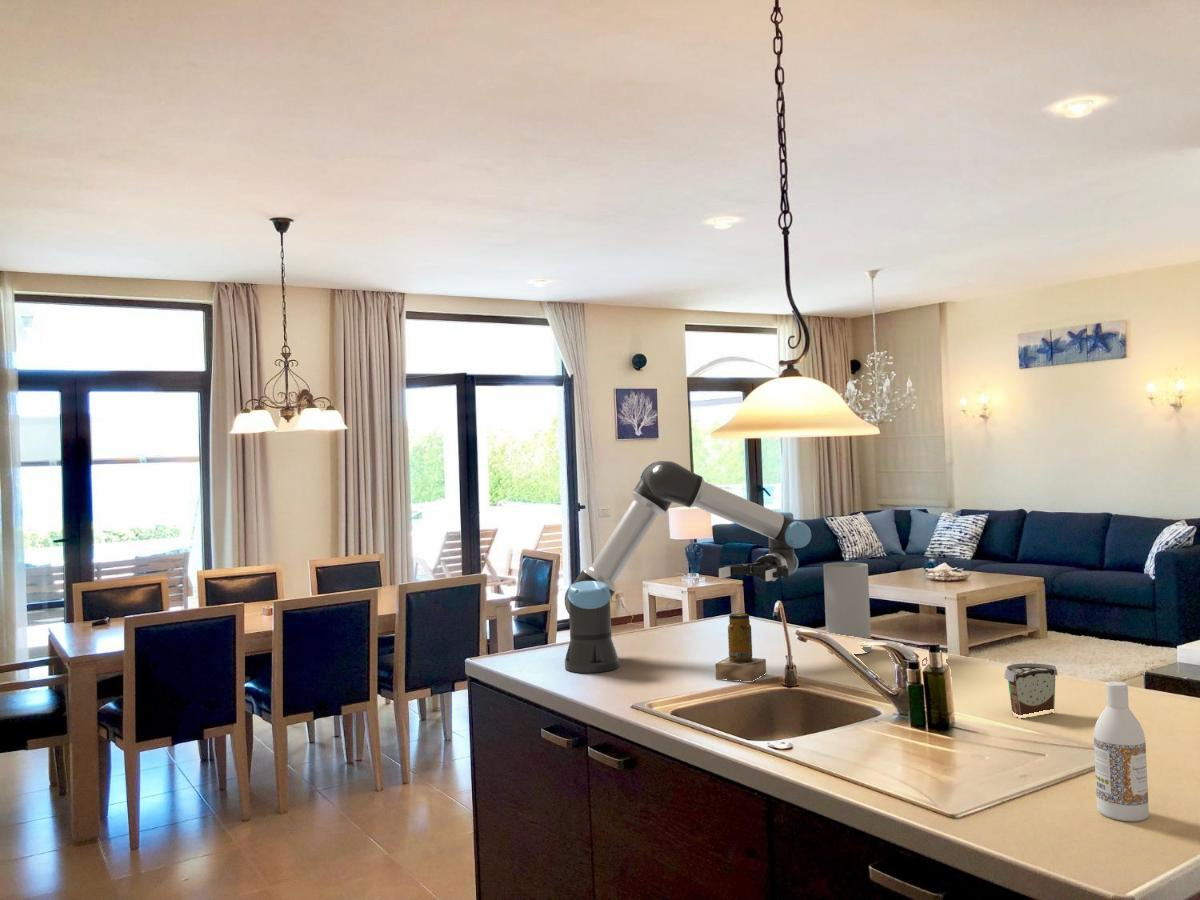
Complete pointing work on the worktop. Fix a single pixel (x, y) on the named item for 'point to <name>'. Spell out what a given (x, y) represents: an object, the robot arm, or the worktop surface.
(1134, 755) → the bath foam
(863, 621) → the cylinder vase
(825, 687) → the worktop surface
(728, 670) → the plinth
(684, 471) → the robot arm
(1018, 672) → the food container
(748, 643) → the condiment
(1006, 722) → the worktop surface
